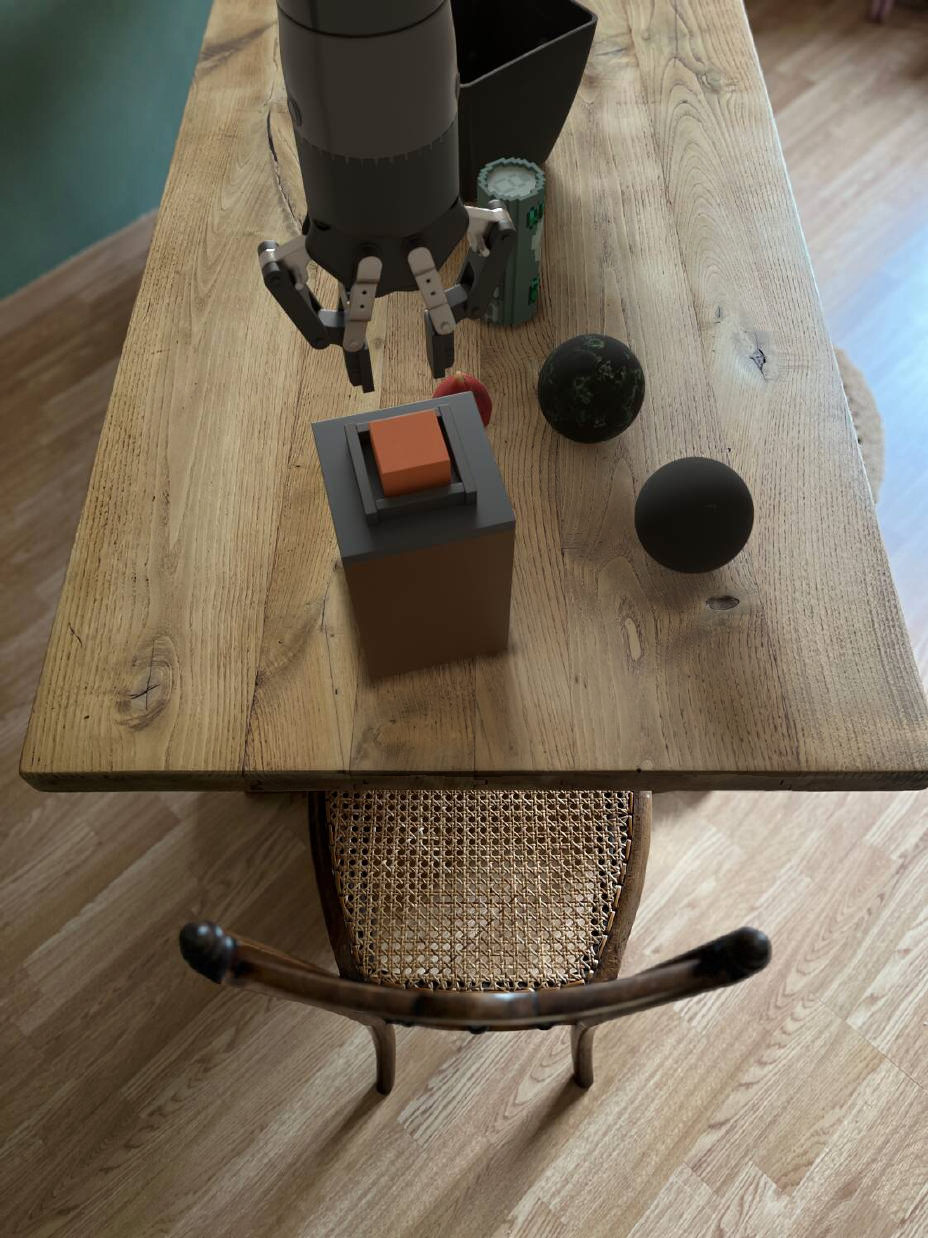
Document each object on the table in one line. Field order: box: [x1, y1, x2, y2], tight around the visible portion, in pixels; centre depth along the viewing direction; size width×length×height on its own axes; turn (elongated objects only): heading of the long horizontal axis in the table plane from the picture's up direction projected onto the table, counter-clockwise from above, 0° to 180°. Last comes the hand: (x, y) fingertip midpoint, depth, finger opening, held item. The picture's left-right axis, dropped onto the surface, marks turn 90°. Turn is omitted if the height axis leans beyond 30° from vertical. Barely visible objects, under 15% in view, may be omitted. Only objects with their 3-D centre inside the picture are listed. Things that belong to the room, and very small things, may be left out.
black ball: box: [633, 456, 755, 575], centre depth 79 cm, size 10×10×10 cm
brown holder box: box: [310, 391, 517, 682], centre depth 72 cm, size 12×12×20 cm
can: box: [476, 157, 547, 327], centre depth 92 cm, size 6×6×15 cm
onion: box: [431, 370, 493, 429], centre depth 86 cm, size 6×6×8 cm
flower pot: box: [450, 0, 599, 203], centre depth 103 cm, size 19×19×17 cm
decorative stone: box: [536, 332, 646, 445], centre depth 86 cm, size 10×10×10 cm
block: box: [368, 410, 451, 499], centre depth 63 cm, size 5×5×3 cm
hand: (400, 374), depth 56 cm, fingers open, 3 cm apart
